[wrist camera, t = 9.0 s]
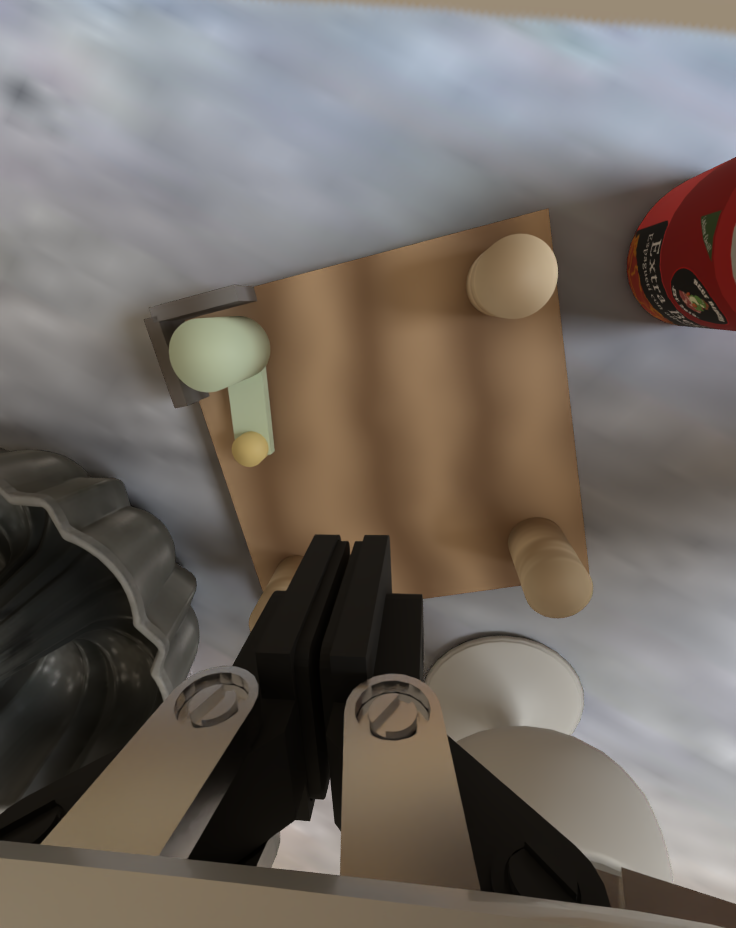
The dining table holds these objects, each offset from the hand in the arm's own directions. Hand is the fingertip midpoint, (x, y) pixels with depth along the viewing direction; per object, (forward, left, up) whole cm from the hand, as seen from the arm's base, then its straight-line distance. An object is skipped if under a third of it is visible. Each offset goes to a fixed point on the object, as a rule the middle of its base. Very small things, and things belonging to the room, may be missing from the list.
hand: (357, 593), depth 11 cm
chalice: (-3, +24, -22) cm, 33 cm away
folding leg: (+9, -3, -19) cm, 21 cm away
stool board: (+1, +2, -22) cm, 22 cm away
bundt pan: (+28, +8, -22) cm, 37 cm away
